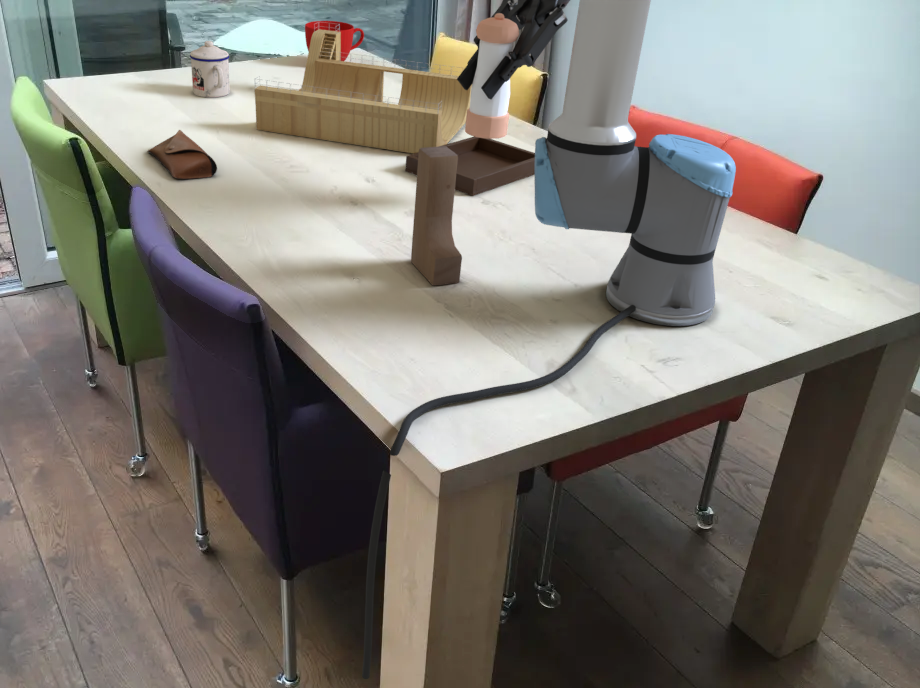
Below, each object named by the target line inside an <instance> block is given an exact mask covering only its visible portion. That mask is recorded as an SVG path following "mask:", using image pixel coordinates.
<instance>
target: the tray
mask: <svg viewBox="0 0 920 688" xmlns="http://www.w3.org/2000/svg"><path fill="white" fill-rule="evenodd" d="M442 146H446V147H448V148H449V149H450V150H452V151H453V152H454V153H455V154H457V156H458V162H457V172H456V182H455V191H457V192H460V193H463V194H465V195H469V196H470V197H474V196H476V195H477V196H478V195H479V194H483V193H485V192H489V191H491V190H495V189H498V188H500V187H504V186H505V185H508V184H511V183H514V182H517V181H520V180H523V179H525V178H529V177H531V176H535V151H534V152H533V151H530V150H527V149H524V148H520V147H519V146H515V145H511V144H508V143H506V142H502V141H498V140H497V139H496V140H495V139H487V138H479V137H474V136H470V137H468V138H463V139H460V140H457V141H454V142H453V141H452V142H448V143H447V144H446V145H442ZM439 147H441V146H439ZM418 155H419V152H418V153H409V154H408V155H406V157H405V169H404V171H405V172H406V173H409V174H411V175H414V176H417V169H418Z"/></svg>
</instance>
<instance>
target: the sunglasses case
mask: <svg viewBox="0 0 920 688" xmlns="http://www.w3.org/2000/svg"><path fill="white" fill-rule="evenodd" d="M147 153H149V154H150V155H152V156H153V157H154V158H155V159H156V160H157V161H158V162H159V163H160V164H161V165H162V166H163V167H164V168H165V169H166V170H167V171H168V172H169V174H170V175H171V176H172V178H174V179H176V180H177V179H178V180H197V179H198V180H199V179H207V178H212V177H214V176H215V175H216V173H217V171H218V166H217V163H216V161H215V160H214V159H213V157H212V156H210V155H209V154H208V153H207V152H206V151H205V150H204V149H203V148H202V147H201V146H199V144H197V142H195V141H194V140H193V139H192V138H190V137H189V136H188V135H186V133H184V132H183V131H182V129H178V130H177V132H176V134H175V133H174V134H173V135H172V136H170V137H168V138H167V139H165V140H163V141H161V142H160V143H158V144H156V145H154V146H153V147H151V148H150V149H148V150H147Z"/></svg>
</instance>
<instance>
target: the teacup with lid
mask: <svg viewBox="0 0 920 688" xmlns="http://www.w3.org/2000/svg"><path fill="white" fill-rule="evenodd" d="M228 52H229V51H226V50H224V49H221V48H220V47H218V46H216V45H214V42H213V41H212V40H206V41H204V45H202V46H200V47H198V48H197V49H194V50H192V51H191V52H190V53H189V58H190V63H191V64H190V67H191V82H192V92H193V94H194V95H195V96H198V97H201V98H209V99H210V98H212V99H213V98H221V97H226V96H228V95H229V94H230V91H231V90H230V87H231V85H230V64H229V63H230V62H229V58H230V54H229V53H228Z"/></svg>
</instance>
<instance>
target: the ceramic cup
mask: <svg viewBox="0 0 920 688" xmlns="http://www.w3.org/2000/svg"><path fill="white" fill-rule="evenodd" d="M317 22H319V29H321V30H329V23H330V27H331V28H330V31H336V30H337V32H339V30H338V29H337V28H339V24H340V32H341V52H342V53H341V61H346V60H347V59H348V58H349V55H350V54H351V51H352V50H353V51H354V50H355V49H356V48H358V47H359V46H360V45H362V42H363V41H364V38H365V33H364V30H363V29H361V28H359V27H355V26H354V25H353V24H351V23H348V22H343V21H336V20H315V21H309V22H307V23H305V25H304V36H305V44H306V49H307V51H308V53H309V48H310V43H311V38H312V35H313V33H314V24H315V23H316V24H315V31H317V30H318V23H317ZM324 22H326V23H324ZM332 23H334V24H332ZM337 25H338V26H337ZM321 26H323V27H321ZM316 27H317V28H316ZM356 32H359V33H360V37H359V39H358V41H356V43H355V44H353V41H354V34H355V33H356ZM347 53H349V54H347ZM344 57H346V58H344Z"/></svg>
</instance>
